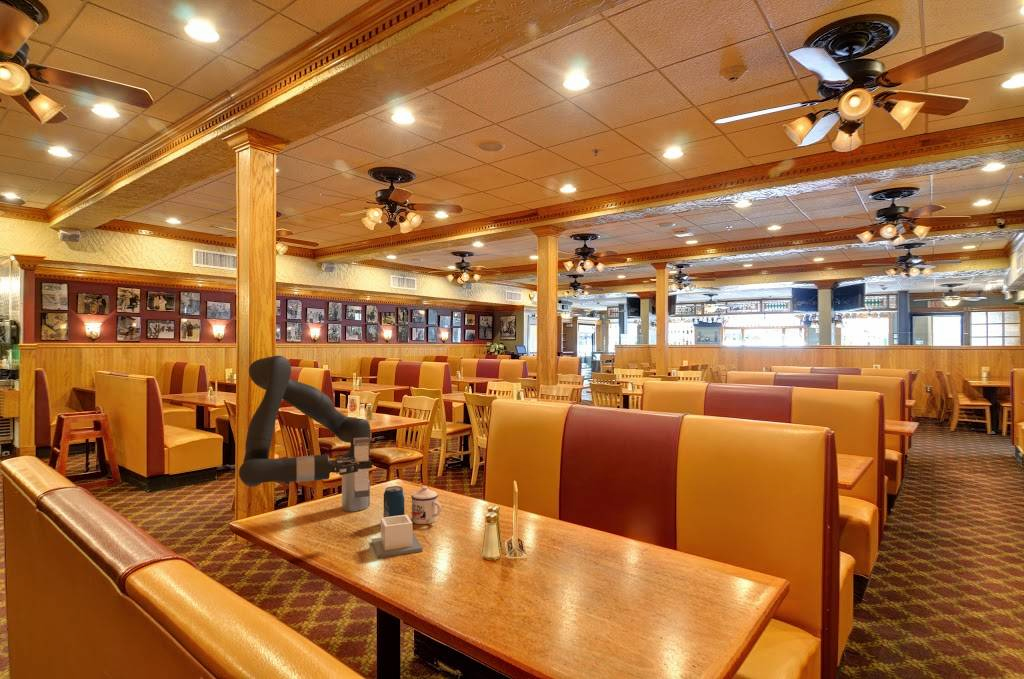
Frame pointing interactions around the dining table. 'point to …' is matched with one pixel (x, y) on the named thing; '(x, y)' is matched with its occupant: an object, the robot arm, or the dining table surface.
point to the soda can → (393, 501)
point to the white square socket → (396, 537)
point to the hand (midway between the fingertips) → (370, 463)
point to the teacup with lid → (425, 506)
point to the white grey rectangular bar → (363, 474)
